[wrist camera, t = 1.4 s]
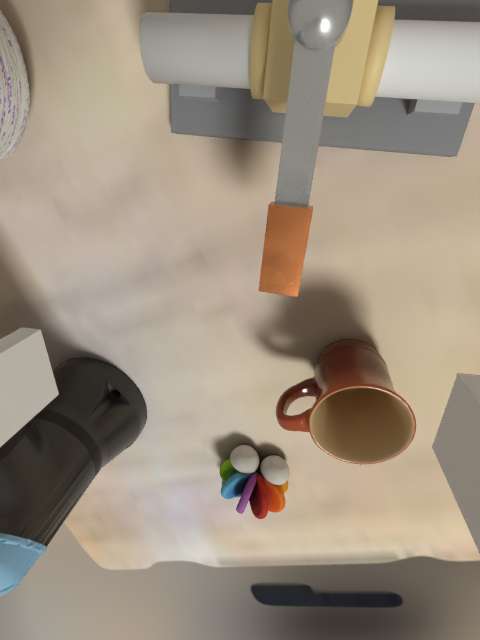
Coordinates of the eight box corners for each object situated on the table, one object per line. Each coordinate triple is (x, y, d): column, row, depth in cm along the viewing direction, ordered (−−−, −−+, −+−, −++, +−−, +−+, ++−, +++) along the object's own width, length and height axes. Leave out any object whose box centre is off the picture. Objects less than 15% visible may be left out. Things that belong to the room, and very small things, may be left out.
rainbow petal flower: (278, 495, 49) (274, 545, 42) (217, 472, 49) (203, 519, 43) (298, 457, 45) (296, 506, 38) (231, 433, 45) (218, 478, 39)
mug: (386, 323, 34) (413, 379, 25) (392, 391, 37) (419, 463, 28) (274, 339, 38) (263, 393, 28) (289, 400, 41) (283, 467, 32)
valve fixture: (177, 133, 31) (114, 117, 21) (177, -9, 26) (97, -115, 16) (449, 156, 27) (527, 150, 17) (501, -2, 23) (644, -130, 13)
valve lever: (294, -19, 16) (292, -39, 15) (355, -18, 16) (360, -38, 14) (259, 282, 23) (255, 290, 22) (301, 288, 23) (300, 297, 21)
